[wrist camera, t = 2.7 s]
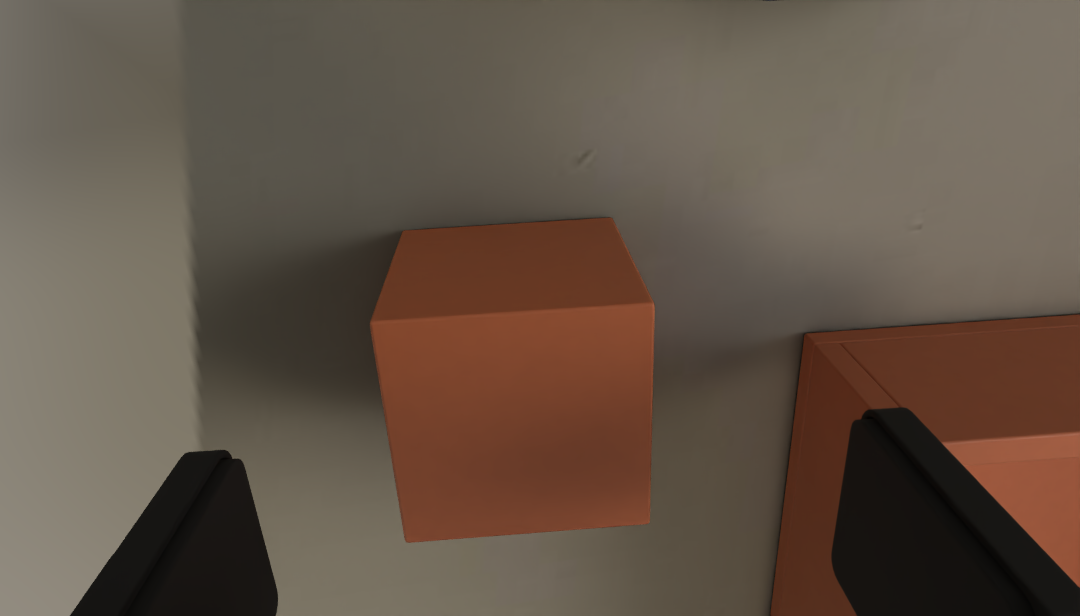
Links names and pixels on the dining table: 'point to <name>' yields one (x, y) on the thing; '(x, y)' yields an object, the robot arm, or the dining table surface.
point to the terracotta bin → (936, 432)
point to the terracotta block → (516, 379)
